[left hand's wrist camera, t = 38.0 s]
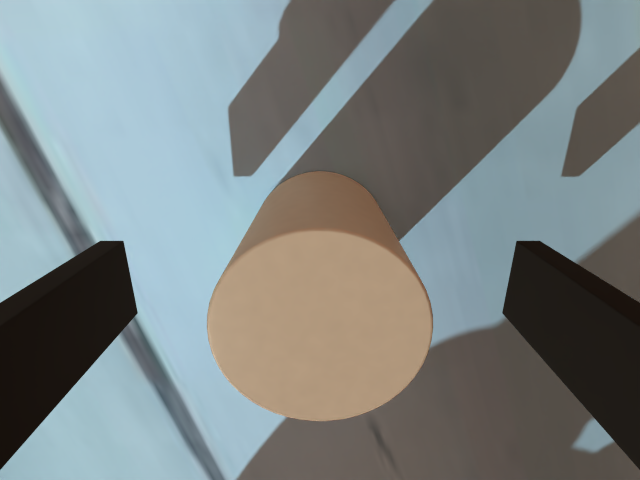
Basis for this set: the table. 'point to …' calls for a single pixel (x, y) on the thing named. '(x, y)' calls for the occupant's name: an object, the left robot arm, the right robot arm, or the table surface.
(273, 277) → the canister
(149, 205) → the table surface
